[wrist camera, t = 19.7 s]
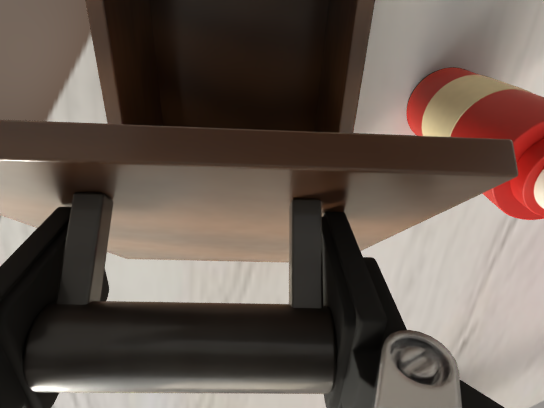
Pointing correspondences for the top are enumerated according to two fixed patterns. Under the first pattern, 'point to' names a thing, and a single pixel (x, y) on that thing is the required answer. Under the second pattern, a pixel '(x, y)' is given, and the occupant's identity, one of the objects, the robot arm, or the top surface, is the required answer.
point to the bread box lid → (215, 241)
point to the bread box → (232, 62)
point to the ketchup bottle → (487, 128)
